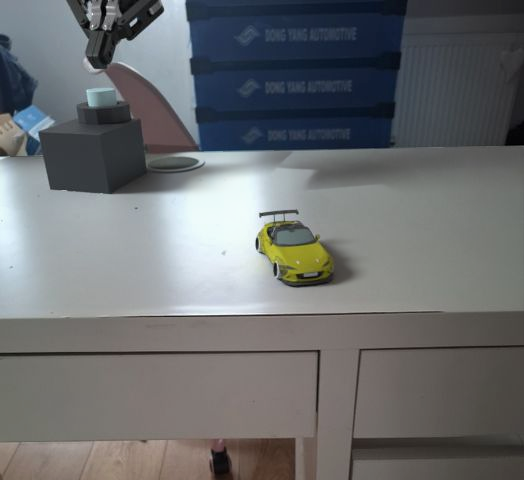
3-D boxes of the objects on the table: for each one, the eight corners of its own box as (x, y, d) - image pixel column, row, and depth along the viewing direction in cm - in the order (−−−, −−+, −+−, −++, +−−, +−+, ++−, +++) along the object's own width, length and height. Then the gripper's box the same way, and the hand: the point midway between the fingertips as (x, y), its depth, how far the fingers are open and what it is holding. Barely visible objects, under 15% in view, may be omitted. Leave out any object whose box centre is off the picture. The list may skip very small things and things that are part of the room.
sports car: (280, 289, 43) (280, 253, 41) (251, 243, 51) (250, 211, 50) (341, 282, 44) (344, 246, 42) (303, 238, 52) (304, 206, 51)
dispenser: (109, 194, 65) (97, 116, 60) (50, 189, 67) (33, 114, 62) (151, 170, 74) (144, 101, 70) (98, 166, 76) (87, 99, 71)
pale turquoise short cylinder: (109, 110, 66) (106, 91, 65) (83, 109, 67) (80, 90, 66) (122, 105, 69) (120, 87, 68) (98, 105, 70) (95, 87, 69)
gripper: (67, -82, 67) (29, 39, 64) (168, -87, 64) (134, 40, 61) (97, -27, 74) (64, 84, 71) (189, -29, 71) (159, 87, 68)
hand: (96, 64), depth 66 cm, fingers closed
